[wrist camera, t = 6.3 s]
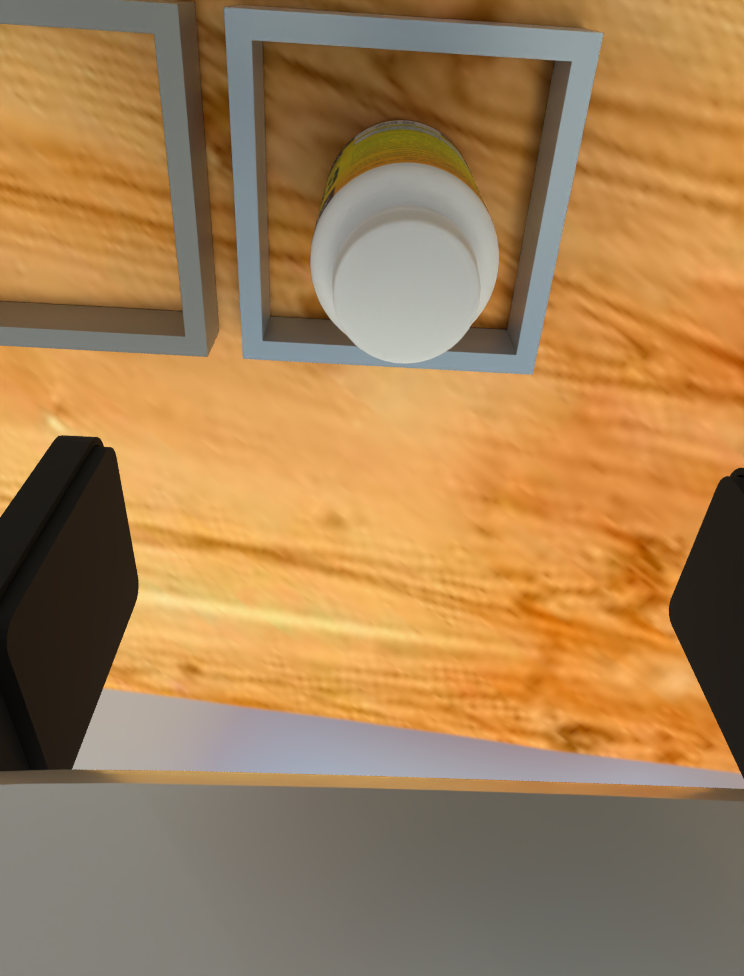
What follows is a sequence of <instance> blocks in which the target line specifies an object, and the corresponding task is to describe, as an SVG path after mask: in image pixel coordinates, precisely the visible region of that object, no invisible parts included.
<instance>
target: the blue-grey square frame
mask: <svg viewBox="0 0 744 976" xmlns="http://www.w3.org/2000/svg"><path fill="white" fill-rule="evenodd" d="M224 17H225V35H226V54H227V72H228V90H229V109H230V127H231V146H232V164H233V183H234V201H235V220H236V238H237V256H238V275H239V293H240V312H241V330H242V349H243V359H257V360H276V361H294V362H312V363H330V364H349V365H367V366H385V367H404V368H422V369H440V370H458V371H477V372H495V373H513V374H532V375H533V370H534V366H535V361H536V356H537V351H538V346H539V342H540V337H541V332H542V327H543V322H544V317H545V313H546V308H547V303H548V298H549V293H550V289H551V284H552V279H553V274H554V269H555V265H556V260H557V255H558V250H559V245H560V240H561V236H562V231H563V226H564V221H565V216H566V212H567V207H568V202H569V197H570V192H571V187H572V183H573V178H574V173H575V168H576V163H577V159H578V154H579V149H580V144H581V139H582V135H583V130H584V125H585V120H586V115H587V110H588V106H589V101H590V96H591V91H592V86H593V82H594V77H595V72H596V67H597V62H598V57H599V53H600V48H601V43H602V38H603V33H602V32H598V31H594V30H590V29H586V28H575V27H560V26H545V25H531V24H516V23H501V22H486V21H472V20H457V19H442V18H427V17H412V16H398V15H383V14H368V13H353V12H339V11H324V10H309V9H294V8H280V7H265V6H250V5H233V6H228V7H224ZM263 41H271V42H286V43H301V44H316V45H331V46H346V47H361V48H376V49H391V50H406V51H421V52H436V53H451V54H467V55H482V56H497V57H512V58H527V59H542V60H555V62H554V68H553V74H552V79H551V85H550V90H549V96H548V102H547V107H546V113H545V119H544V124H543V130H542V136H541V141H540V147H539V153H538V158H537V164H536V169H535V175H534V181H533V186H532V192H531V198H530V203H529V209H528V215H527V220H526V226H525V231H524V237H523V243H522V248H521V254H520V260H519V265H518V271H517V277H516V282H515V288H514V293H513V299H512V305H511V310H510V316H509V322H508V327H507V330H504V329H487V328H469V329H468V331H467V332H466V333H465V335H464V336H463V337H462V338H461V339H460V340H459V342H458V343H456V344H455V345H454V346H453V347H452V348H450V349H449V350H447V351H446V352H444V353H443V354H441V355H439V356H437V357H435V358H432V359H429V360H426V361H422V362H417V363H408V364H403V363H392V362H387V361H384V360H381V359H378V358H376V357H373V356H371V355H369V354H367V353H366V352H364V351H363V350H361V349H360V348H359V347H358V346H356V345H355V344H354V343H353V342H352V341H351V340H350V339H349V337H348V336H347V335H346V334H345V333H343V332H342V331H341V330H340V329H339V328H338V327H337V326H336V325H335V324H334V323H333V322H332V320H327V319H309V318H291V317H274V316H270V283H269V248H268V213H267V178H266V143H265V108H264V73H263Z"/></svg>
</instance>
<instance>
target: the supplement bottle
mask: <svg viewBox="0 0 744 976" xmlns="http://www.w3.org/2000/svg"><path fill="white" fill-rule="evenodd" d="M310 267H311V275H312V281H313V285H314V289H315V292H316V294H317V297H318V299H319V302H320V304H321V306H322V307H323V309H324V311H325V312H326V314H327V315H328V316H329V318H330V319H331V320H332V322H333V323H334V324H335V325H336V326H337V327H338V328H339V329H340V330H341V331H342V332H343V333H345V334H346V335H347V336H348V337H349V339H350V340H351V341H352V342H353V343H354V344H355V345H356V346H358V347H359V348H360V349H361V350H363V351H364V352H366V353H367V354H369V355H371V356H373V357H376V358H378V359H381V360H384V361H387V362H392V363H403V364H408V363H417V362H422V361H426V360H429V359H432V358H435V357H437V356H439V355H441V354H443V353H444V352H446V351H447V350H449V349H450V348H452V347H453V346H454V345H455V344H456V343H458V342H459V340H460V339H461V338H462V337H463V336H464V335H465V333H466V332H467V331H468V329H469V328H470V326H471V324H472V323H473V322H474V321H475V320H476V319H477V318H478V316H479V315H480V314H481V312H482V311H483V309H484V308H485V306H486V304H487V303H488V301H489V299H490V297H491V294H492V292H493V289H494V286H495V283H496V279H497V274H498V268H499V248H498V240H497V235H496V231H495V228H494V224H493V222H492V219H491V217H490V215H489V212H488V210H487V208H486V206H485V204H484V202H483V200H482V197H481V195H480V193H479V191H478V188H477V186H476V184H475V182H474V179H473V177H472V175H471V173H470V170H469V168H468V166H467V164H466V162H465V160H464V158H463V157H462V155H461V153H460V152H459V150H458V149H457V148H456V147H455V145H454V144H453V143H452V142H451V141H450V140H449V139H448V138H447V137H446V136H445V135H443V134H442V133H441V132H439V131H437V130H436V129H434V128H432V127H430V126H428V125H425V124H422V123H419V122H414V121H408V120H394V121H387V122H383V123H379V124H376V125H374V126H371V127H369V128H367V129H365V130H364V131H362V132H361V133H359V134H358V135H357V136H355V137H354V138H353V139H352V140H350V142H349V143H348V144H347V145H346V146H345V147H344V148H343V149H342V151H341V152H340V153H339V155H338V157H337V158H336V160H335V162H334V164H333V166H332V168H331V171H330V173H329V176H328V179H327V183H326V187H325V191H324V195H323V199H322V203H321V207H320V212H319V215H318V219H317V222H316V227H315V231H314V235H313V240H312V246H311V257H310Z"/></svg>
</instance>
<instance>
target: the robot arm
mask: <svg viewBox="0 0 744 976" xmlns="http://www.w3.org/2000/svg"><path fill="white" fill-rule="evenodd" d="M137 595H138V575H137V569H136V564H135V558H134V552H133V547H132V541H131V536H130V530H129V525H128V519H127V513H126V508H125V502H124V497H123V491H122V486H121V480H120V474H119V469H118V463H117V458H116V454H115V451H114V449H113V448H112V447H104V445H103V443H102V441H101V439H100V438H98V437H84V436H63V435H62V436H58V437H57V438H56V439H55V440H54V441H53V443H52V444H51V446H50V447H49V449H48V450H47V451H46V453H45V454H44V456H43V457H42V459H41V460H40V461H39V463H38V464H37V466H36V467H35V469H34V470H33V471H32V473H31V474H30V476H29V477H28V479H27V480H26V481H25V483H24V484H23V486H22V487H21V489H20V490H19V491H18V493H17V494H16V496H15V497H14V499H13V500H12V501H11V503H10V504H9V506H8V507H7V509H6V510H5V512H4V513H3V514H2V516H1V517H0V976H744V789H729V788H702V787H677V786H650V785H625V784H599V783H570V782H568V783H567V782H540V781H508V780H480V779H449V778H418V777H387V776H351V775H316V774H280V773H244V772H207V771H153V770H152V771H151V770H150V771H148V770H147V771H146V770H72V768H73V765H74V762H75V760H76V757H77V755H78V752H79V749H80V747H81V744H82V742H83V739H84V736H85V734H86V731H87V728H88V726H89V723H90V720H91V718H92V715H93V713H94V710H95V708H96V705H97V702H98V700H99V697H100V695H101V692H102V689H103V687H104V684H105V682H106V679H107V676H108V674H109V671H110V668H111V666H112V663H113V661H114V658H115V655H116V653H117V650H118V648H119V645H120V642H121V640H122V637H123V635H124V632H125V629H126V627H127V624H128V621H129V619H130V616H131V614H132V611H133V608H134V606H135V603H136V600H137ZM669 617H670V621H671V624H672V627H673V629H674V631H675V633H676V635H677V637H678V639H679V642H680V644H681V646H682V648H683V650H684V652H685V654H686V656H687V659H688V661H689V663H690V665H691V667H692V669H693V671H694V674H695V676H696V678H697V680H698V682H699V684H700V686H701V688H702V691H703V693H704V695H705V697H706V699H707V701H708V703H709V706H710V708H711V710H712V712H713V714H714V716H715V718H716V720H717V723H718V725H719V727H720V729H721V731H722V733H723V735H724V738H725V740H726V742H727V744H728V746H729V748H730V750H731V752H732V755H733V757H734V759H735V761H736V763H737V765H738V767H739V770H740V772H741V774H742V776H743V778H744V468H738V469H736V470H735V471H734V472H733V473H732V474H731V475H730V476H726V477H723V478H722V479H721V480H720V482H719V484H718V486H717V488H716V491H715V493H714V496H713V498H712V500H711V503H710V505H709V508H708V510H707V513H706V515H705V517H704V520H703V522H702V525H701V527H700V530H699V532H698V535H697V537H696V539H695V542H694V544H693V547H692V549H691V552H690V554H689V556H688V559H687V561H686V564H685V566H684V569H683V571H682V573H681V576H680V578H679V581H678V583H677V586H676V588H675V591H674V593H673V595H672V598H671V601H670V605H669Z"/></svg>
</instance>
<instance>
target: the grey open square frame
mask: <svg viewBox="0 0 744 976" xmlns="http://www.w3.org/2000/svg"><path fill="white" fill-rule="evenodd" d="M0 24H15V25H30V26H45V27H60V28H75V29H90V30H105V31H120V32H135V33H150V34H154V38H155V48H156V57H157V67H158V77H159V86H160V96H161V106H162V115H163V125H164V135H165V144H166V154H167V164H168V173H169V183H170V192H171V202H172V212H173V221H174V231H175V241H176V250H177V260H178V270H179V279H180V289H181V299H182V308H183V311H167V310H149V309H132V308H114V307H96V306H78V305H61V304H43V303H25V302H7V301H0V345H2V346H20V347H38V348H56V349H75V350H93V351H111V352H129V353H148V354H166V355H184V356H203V357H208V355H209V353H210V350H211V348H212V346H213V344H214V342H215V339H216V337H217V335H218V333H219V322H218V309H217V295H216V282H215V268H214V255H213V241H212V228H211V214H210V200H209V187H208V173H207V160H206V146H205V133H204V119H203V106H202V92H201V78H200V65H199V51H198V38H197V24H196V11H195V2H191V1H176V0H0Z"/></svg>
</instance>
